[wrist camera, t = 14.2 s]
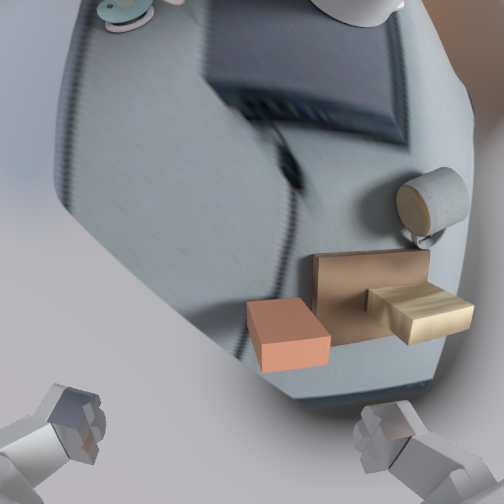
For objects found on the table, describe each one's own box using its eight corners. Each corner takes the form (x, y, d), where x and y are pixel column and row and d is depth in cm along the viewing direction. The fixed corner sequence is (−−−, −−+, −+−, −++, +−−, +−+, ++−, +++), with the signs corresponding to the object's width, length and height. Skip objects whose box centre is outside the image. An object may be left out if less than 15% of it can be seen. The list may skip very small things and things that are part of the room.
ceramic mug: (385, 183, 37) (422, 186, 29) (428, 165, 37) (465, 166, 30) (404, 256, 40) (438, 271, 32) (443, 234, 40) (478, 245, 33)
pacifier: (160, 23, 29) (154, -9, 27) (154, 0, 23) (148, -35, 21) (104, 41, 28) (100, 7, 27) (89, 21, 22) (87, -15, 21)
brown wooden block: (313, 254, 37) (357, 284, 26) (422, 247, 40) (480, 268, 28) (309, 341, 40) (344, 394, 28) (412, 324, 42) (460, 360, 31)
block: (246, 301, 35) (261, 344, 25) (299, 297, 36) (331, 335, 26) (247, 325, 36) (261, 373, 26) (298, 320, 36) (328, 364, 27)
